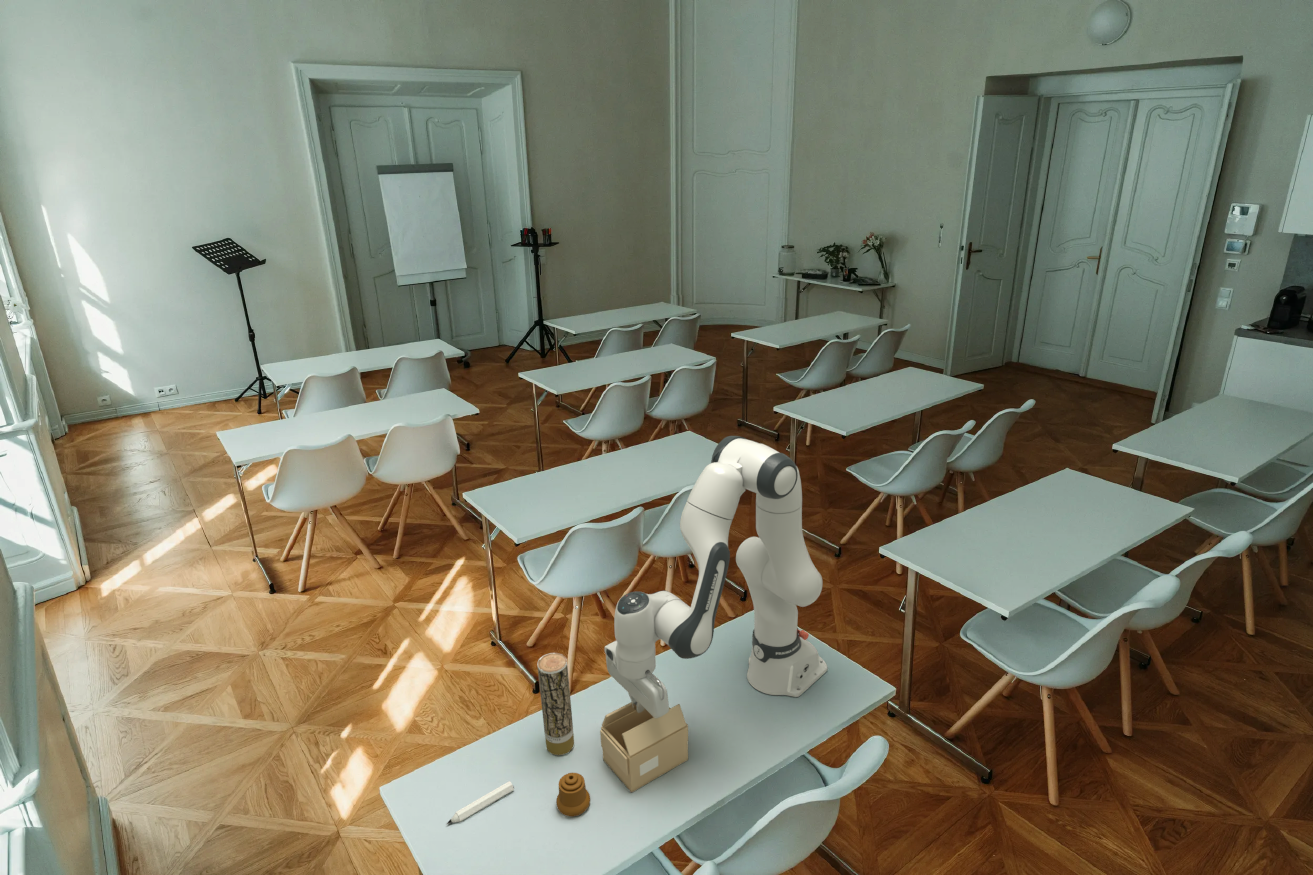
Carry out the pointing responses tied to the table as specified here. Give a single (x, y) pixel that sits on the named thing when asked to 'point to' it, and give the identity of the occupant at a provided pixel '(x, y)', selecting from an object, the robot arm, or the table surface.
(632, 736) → the flap near
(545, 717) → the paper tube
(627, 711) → the flap far
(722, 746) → the table surface
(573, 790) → the ornamental finial
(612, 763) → the carton
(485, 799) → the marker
